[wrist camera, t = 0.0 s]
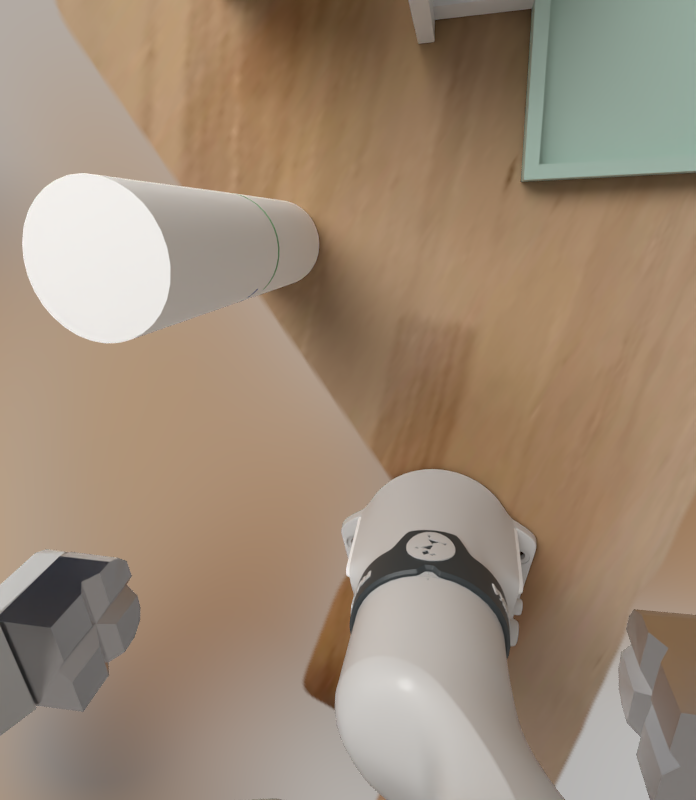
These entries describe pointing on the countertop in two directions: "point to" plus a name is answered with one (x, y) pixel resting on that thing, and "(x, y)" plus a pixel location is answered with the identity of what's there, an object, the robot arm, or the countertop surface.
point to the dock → (456, 12)
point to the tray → (610, 89)
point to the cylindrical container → (156, 252)
